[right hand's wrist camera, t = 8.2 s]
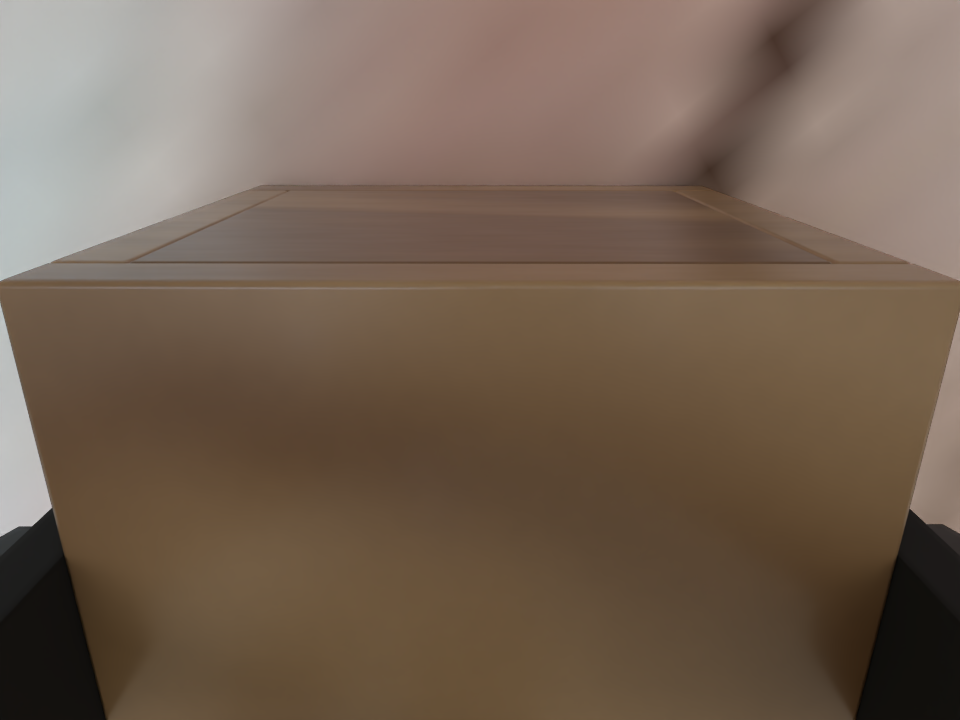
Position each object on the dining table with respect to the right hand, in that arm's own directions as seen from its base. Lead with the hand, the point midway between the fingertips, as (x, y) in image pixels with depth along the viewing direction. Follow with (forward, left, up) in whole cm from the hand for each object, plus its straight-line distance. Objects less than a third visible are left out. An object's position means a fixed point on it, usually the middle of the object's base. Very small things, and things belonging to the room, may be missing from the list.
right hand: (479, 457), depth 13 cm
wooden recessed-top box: (+3, +4, -4) cm, 7 cm away
